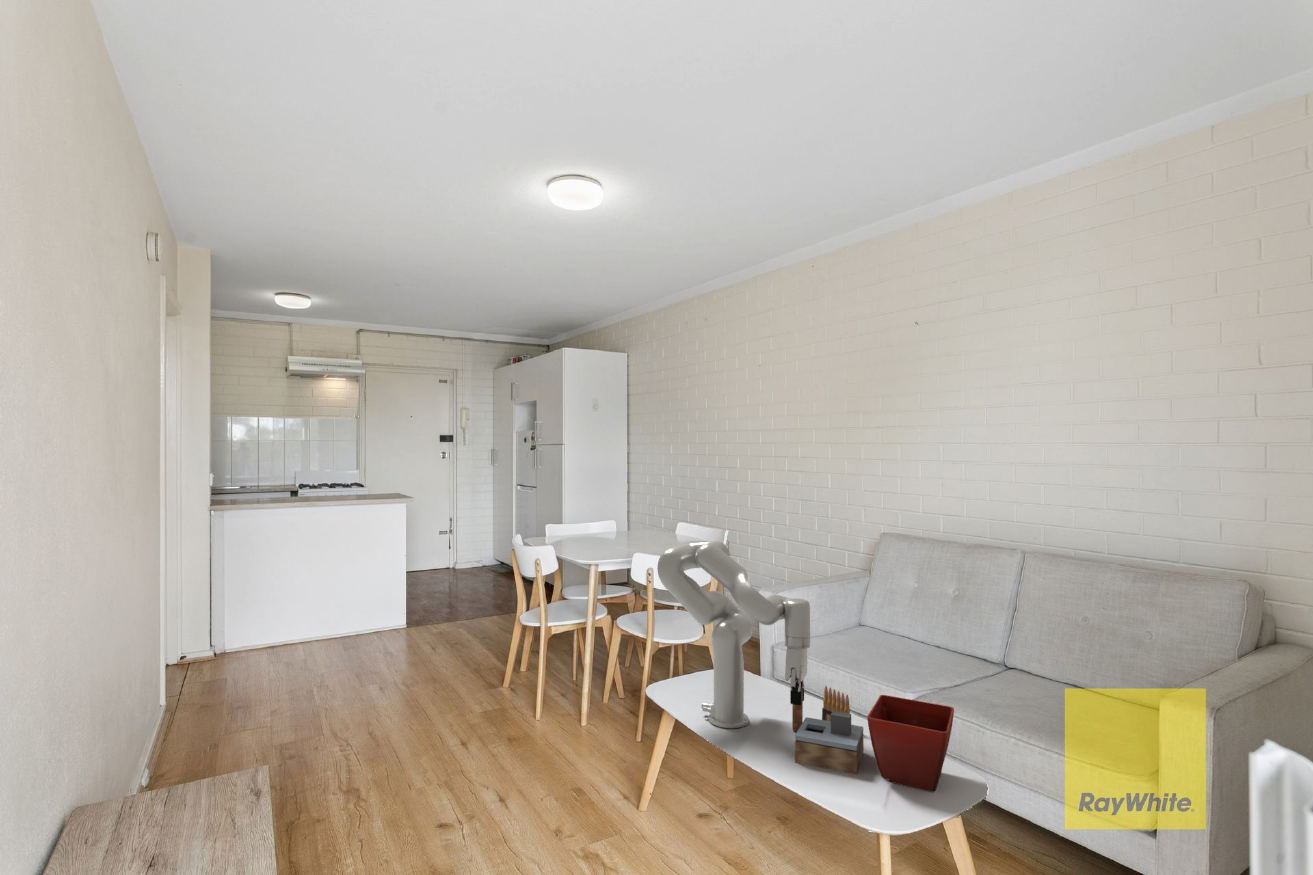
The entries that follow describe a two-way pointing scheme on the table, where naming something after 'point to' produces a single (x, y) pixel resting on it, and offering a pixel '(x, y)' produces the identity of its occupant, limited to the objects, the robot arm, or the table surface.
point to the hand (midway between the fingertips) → (797, 701)
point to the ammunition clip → (834, 703)
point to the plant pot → (910, 740)
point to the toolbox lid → (831, 731)
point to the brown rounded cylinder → (797, 713)
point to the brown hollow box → (828, 755)
